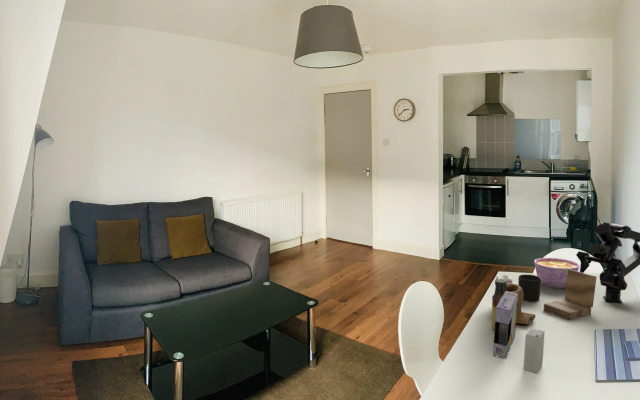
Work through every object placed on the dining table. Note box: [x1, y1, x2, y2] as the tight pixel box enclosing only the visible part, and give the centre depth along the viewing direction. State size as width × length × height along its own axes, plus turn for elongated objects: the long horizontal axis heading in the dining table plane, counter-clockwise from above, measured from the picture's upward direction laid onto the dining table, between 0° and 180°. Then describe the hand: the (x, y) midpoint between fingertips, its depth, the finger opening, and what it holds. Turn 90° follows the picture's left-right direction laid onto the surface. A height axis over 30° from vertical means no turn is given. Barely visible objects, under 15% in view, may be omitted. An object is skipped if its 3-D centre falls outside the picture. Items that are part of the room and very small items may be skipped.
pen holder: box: [517, 274, 542, 303], centre depth 204 cm, size 9×9×10 cm
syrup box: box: [495, 274, 513, 284], centre depth 191 cm, size 6×6×14 cm
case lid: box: [564, 269, 598, 309], centre depth 189 cm, size 13×12×2 cm
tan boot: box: [506, 283, 536, 325], centre depth 178 cm, size 15×12×15 cm
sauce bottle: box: [491, 279, 507, 332], centre depth 169 cm, size 6×6×20 cm
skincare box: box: [523, 328, 545, 374], centre depth 141 cm, size 6×4×12 cm
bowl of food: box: [533, 257, 581, 289], centre depth 221 cm, size 20×20×12 cm
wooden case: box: [543, 298, 592, 321], centre depth 187 cm, size 13×12×3 cm
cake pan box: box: [492, 291, 518, 359], centre depth 155 cm, size 19×5×18 cm, turn 148°
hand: (590, 276), depth 191 cm, fingers open, 9 cm apart
